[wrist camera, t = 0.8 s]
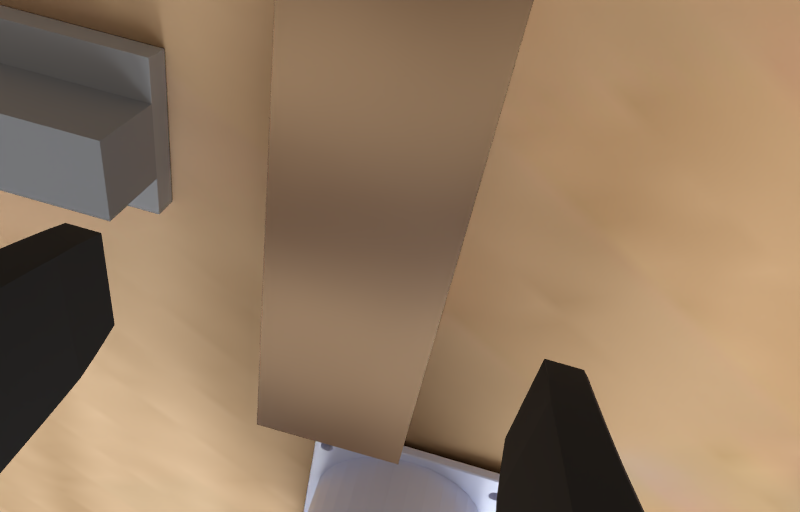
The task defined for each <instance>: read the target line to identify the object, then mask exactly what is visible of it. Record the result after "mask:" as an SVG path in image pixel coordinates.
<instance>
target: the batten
mask: <svg viewBox="0 0 800 512" xmlns="http://www.w3.org/2000/svg"><path fill="white" fill-rule="evenodd" d="M533 1H534V0H275V8H274V31H273V55H272V79H271V102H270V126H269V150H268V173H267V197H266V221H265V245H264V268H263V292H262V316H261V339H260V363H259V387H258V411H257V425H261V426H264V427H268V428H271V429H275V430H279V431H282V432H286V433H289V434H293V435H296V436H300V437H303V438H307V439H310V440H314V441H317V442H321V443H324V444H328V445H331V446H335V447H338V448H342V449H345V450H349V451H352V452H356V453H359V454H363V455H366V456H370V457H373V458H377V459H381V460H384V461H388V462H391V463H395V464H398V463H399V460H400V457H401V453H402V450H403V446H404V443H405V439H406V436H407V433H408V429H409V426H410V422H411V419H412V415H413V412H414V409H415V405H416V402H417V398H418V395H419V391H420V388H421V385H422V381H423V378H424V374H425V371H426V367H427V364H428V361H429V357H430V354H431V350H432V347H433V343H434V340H435V337H436V333H437V330H438V326H439V323H440V319H441V316H442V313H443V309H444V306H445V302H446V299H447V295H448V292H449V289H450V285H451V282H452V278H453V275H454V271H455V268H456V265H457V261H458V258H459V254H460V251H461V247H462V244H463V241H464V237H465V234H466V230H467V227H468V223H469V220H470V217H471V213H472V210H473V206H474V203H475V199H476V196H477V193H478V189H479V186H480V182H481V179H482V175H483V172H484V169H485V165H486V162H487V158H488V155H489V151H490V148H491V145H492V141H493V138H494V134H495V131H496V127H497V124H498V121H499V117H500V114H501V110H502V107H503V103H504V100H505V97H506V93H507V90H508V86H509V83H510V79H511V76H512V73H513V69H514V66H515V62H516V59H517V55H518V52H519V49H520V45H521V42H522V38H523V35H524V31H525V28H526V25H527V21H528V18H529V14H530V11H531V7H532V4H533Z"/></svg>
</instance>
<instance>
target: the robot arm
mask: <svg viewBox="0 0 800 512" xmlns="http://www.w3.org/2000/svg"><path fill="white" fill-rule="evenodd" d="M113 326H114V318H113V311H112V304H111V297H110V290H109V283H108V277H107V270H106V263H105V256H104V249H103V242H102V235H101V233H99V232H95V231H92V230H88V229H85V228H81V227H78V226H74V225H71V224H67V223H64V224H61V225H59V226H56V227H53V228H50V229H48V230H45V231H42V232H40V233H37V234H35V235H32V236H30V237H27V238H25V239H23V240H20V241H18V242H15V243H13V244H10V245H8V246H6V247H3V248H1V249H0V473H1V472H2V471H3V469H4V468H5V467H6V466H7V465H8V464H9V462H10V461H11V460H12V459H13V458H14V456H15V455H16V454H17V453H18V452H19V451H20V449H21V448H22V447H23V446H24V445H25V443H26V442H27V441H28V440H29V439H30V438H31V436H32V435H33V434H34V433H35V432H36V431H37V429H38V428H39V427H40V426H41V425H42V424H43V422H44V421H45V420H46V419H47V418H48V416H49V415H50V414H51V413H52V412H53V410H54V409H55V408H56V407H57V406H58V404H59V403H60V402H61V401H62V400H63V398H64V397H65V396H66V395H67V394H68V392H69V391H70V390H71V389H72V388H73V386H74V385H75V384H76V383H77V381H78V380H79V379H80V378H81V376H82V375H83V373H84V372H85V370H86V369H87V367H88V366H89V364H90V363H91V361H92V360H93V358H94V357H95V355H96V354H97V352H98V351H99V349H100V347H101V346H102V344H103V343H104V341H105V339H106V338H107V336H108V334H109V333H110V331H111V330H112V328H113ZM303 512H644V510H643V508H642V506H641V504H640V502H639V499H638V497H637V495H636V493H635V491H634V488H633V486H632V484H631V482H630V480H629V478H628V475H627V473H626V471H625V468H624V466H623V464H622V461H621V459H620V457H619V454H618V452H617V450H616V447H615V445H614V442H613V440H612V438H611V435H610V433H609V430H608V428H607V425H606V423H605V420H604V418H603V415H602V413H601V410H600V408H599V405H598V403H597V400H596V398H595V395H594V392H593V390H592V387H591V385H590V382H589V379H588V377H587V375H586V373H585V371H584V370H582V369H578V368H575V367H571V366H568V365H564V364H561V363H557V362H554V361H550V360H547V359H544V361H543V363H542V365H541V367H540V369H539V371H538V373H537V375H536V377H535V379H534V381H533V383H532V385H531V387H530V389H529V391H528V393H527V395H526V397H525V399H524V401H523V403H522V405H521V408H520V410H519V412H518V414H517V416H516V418H515V420H514V422H513V424H512V426H511V428H510V430H509V432H508V434H507V436H506V438H505V443H504V450H503V457H502V463H501V470H500V474H499V473H495V472H492V471H488V470H485V469H482V468H478V467H475V466H471V465H468V464H465V463H461V462H458V461H454V460H451V459H448V458H444V457H441V456H437V455H434V454H431V453H427V452H424V451H420V450H417V449H414V448H410V447H407V446H403V450H402V453H401V457H400V460H399V463H398V464H395V463H391V462H388V461H384V460H381V459H377V458H373V457H370V456H366V455H363V454H359V453H356V452H352V451H349V450H345V449H342V448H338V447H335V446H331V445H328V444H324V443H321V442H317V441H315V447H314V453H313V459H312V465H311V470H310V476H309V482H308V488H307V494H306V500H305V505H304V511H303Z"/></svg>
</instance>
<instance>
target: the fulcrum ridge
mask: <svg viewBox="0 0 800 512" xmlns="http://www.w3.org/2000/svg"><path fill="white" fill-rule="evenodd" d="M0 190H1V191H5V192H8V193H12V194H15V195H19V196H23V197H26V198H30V199H33V200H37V201H40V202H44V203H47V204H51V205H54V206H58V207H61V208H65V209H69V210H72V211H76V212H79V213H83V214H86V215H90V216H93V217H97V218H100V219H104V220H107V221H111V220H112V219H113V218H114V217H115V216H116V215H117V214H119V213H120V212H121V211H122V210H123V209H124V208H125V207H126V206H127V205H128V206H131V207H135V208H138V209H142V210H145V211H149V212H152V213H156V214H160V213H161V212H162V211H163V210H164V209H165V208H166V207H167V206H168V205H169V204H170V203H171V202H172V189H171V169H170V150H169V130H168V111H167V91H166V72H165V52H164V49H163V48H160V47H156V46H152V45H148V44H145V43H141V42H137V41H133V40H130V39H126V38H122V37H118V36H115V35H111V34H107V33H103V32H100V31H96V30H92V29H88V28H85V27H81V26H77V25H73V24H70V23H66V22H62V21H58V20H55V19H51V18H47V17H43V16H40V15H36V14H32V13H28V12H25V11H21V10H17V9H13V8H10V7H6V6H2V5H0Z"/></svg>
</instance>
